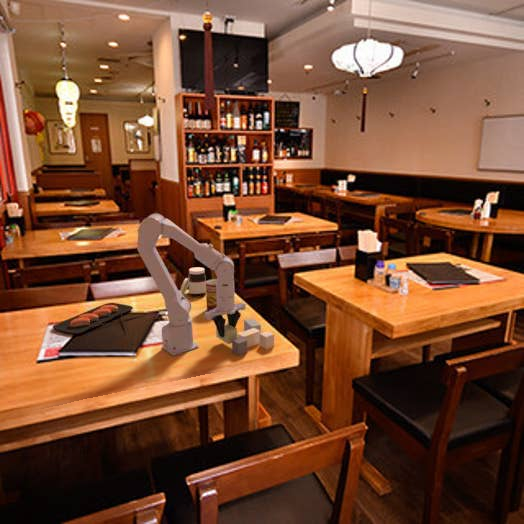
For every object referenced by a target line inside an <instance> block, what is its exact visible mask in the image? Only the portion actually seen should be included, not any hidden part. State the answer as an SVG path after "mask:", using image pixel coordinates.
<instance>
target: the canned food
mask: <svg viewBox="0 0 524 524" xmlns="http://www.w3.org/2000/svg"><path fill="white" fill-rule="evenodd" d="M216 281H217V278H211V279H208V280H206V294H205V295H206V312H209V311H211V310H213V309H215V308H217V293H216Z"/></svg>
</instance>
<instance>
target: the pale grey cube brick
mask: <svg viewBox="0 0 524 524" xmlns="http://www.w3.org/2000/svg"><path fill="white" fill-rule="evenodd" d="M259 338H260V343H259V347H261V348H262V349H265V350H269V349H271V348H274V347H275V334H274V333H272V332H271V331H268V330H266V331H263V332H261V333H260V334H259Z"/></svg>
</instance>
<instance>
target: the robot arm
mask: <svg viewBox="0 0 524 524" xmlns="http://www.w3.org/2000/svg"><path fill="white" fill-rule="evenodd" d="M160 236H161V239H173V240H174V241H176V242H177V243H179V244H181V245H182V246H184V247H185V248H187V249H188V250H190V251H191V252H192V253H193V255H194V258H195V259H196V260H197V261H199V262H200V263H202V264H203V266H205V267H207V268H209V269H210V270H212V271H214V274H215V275H216V279H217V281H216V293H217V308H215V309H213V310H211V311H209V312H208V311H206V312H204V319H205V320H206V321H207V320H208V321H209V320H210V321H211V320H212V321H213V322H214V325H215V328H216V327H217V330H218V334H219V336H220V337H224V326H225V322H226V321H227V324H229V325H231V326H233V327H235V328H236V327H237V324H238V322H239V320H240V318H241V316H242V315H241V312H240V311H245V310H247V309H246V308H247V305H246V303H244V302H238V303H235V301H236V300H235V280H234V279H235V278H234V277H235V276H234V274H235V264H234V260H232V258H230V257H229V256H226V255H225V253H220V252H219V251H218V250H216V249H215V248H214V245H213V244H212V243H209V244H208V243H207V242H205V243H204V242H203V243H201V242H200V243H199V241H197V240H196V239H194V238H193V237H192V236H191V235H189V233H187V232H186V231H185V230H183V229H182V228H181V227H179V226H178V225H177V224H175V223H174V222H173V221H172V220H170V219H168V218H165V217H164V216H163V215H162V214H160V213H151V214H150V215H149V216H147V217H146V218H144V219H143V220H141V222H140V224H139V226H138V228H137V252H138V254H139V256H140V258H141V259H142V261H143V263H144V265H145V266H146V269H147V271H148V272H149V273H150V276H151V278H152V280H153V281H154V283H155V285H156V287H157V289H158V290H159V292H160V294H161V296H162V298H163V299H164V304H165V309H166V311H167V318H168V321H169V322H168V323H167V324H164V325H163V326H162V328H161V340H162V341H161V342H162V345H161V348H162V349H163V350H165V351H166V352H167V353H169V354H170V355H171V356H176V355H179V354H183V353H185V352H188V351H191V350H195V349H197V348H198V349H199V345H198V344H197V343H195V342H194V333H193V319H192V317H191V316H190V312H191V309H192V303H191V302H190V300H189V299H187V298H186V297H185V296H184V295H183V294H184V293H182V292H181V290H180V289H178V287H177V285H176V284H175V281H174V279H173V278H172V276H171V274H170V272H169V271H168V267H166V265H165V263H164V261H163V259H162V257H161V255H160V253H159V252H158V250H157V247H156V246H157V244H158V240H159V238H160ZM224 315H226V317H227V319H226V318H224V317H223V316H224Z"/></svg>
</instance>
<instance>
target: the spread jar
mask: <svg viewBox="0 0 524 524" xmlns="http://www.w3.org/2000/svg"><path fill="white" fill-rule="evenodd" d="M206 281H207V277H206V274H205V268H204V267H199V266H197V267H191V268H189V269H188V277H185V279H183V281H182V284H181V286H180V292H181V293H182V294H185V293H186V291H187V289H188V293H189V295H190V296H191V297H196V298H197V297H203V296H205V295H206Z"/></svg>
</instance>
